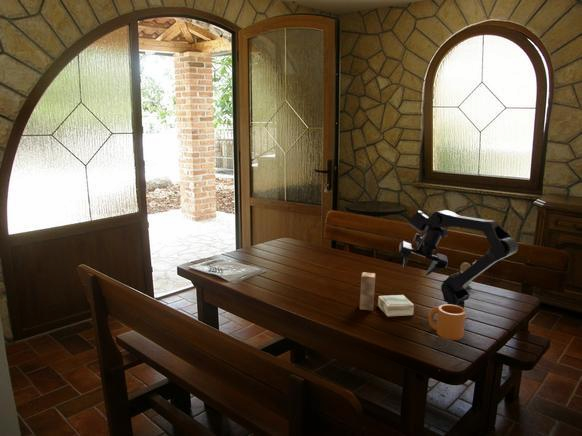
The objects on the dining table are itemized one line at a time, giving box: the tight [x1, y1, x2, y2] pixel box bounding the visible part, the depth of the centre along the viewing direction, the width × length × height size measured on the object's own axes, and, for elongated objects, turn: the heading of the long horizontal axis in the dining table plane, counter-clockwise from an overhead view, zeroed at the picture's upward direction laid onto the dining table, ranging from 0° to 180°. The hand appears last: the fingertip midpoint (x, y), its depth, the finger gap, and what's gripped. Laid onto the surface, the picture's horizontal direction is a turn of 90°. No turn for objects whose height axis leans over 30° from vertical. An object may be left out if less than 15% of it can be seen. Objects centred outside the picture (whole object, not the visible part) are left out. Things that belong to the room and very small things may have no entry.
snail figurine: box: [459, 259, 477, 286], centre depth 207 cm, size 5×6×12 cm
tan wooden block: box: [359, 271, 376, 312], centre depth 180 cm, size 5×5×13 cm
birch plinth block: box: [377, 294, 415, 317], centre depth 179 cm, size 10×10×4 cm
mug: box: [427, 303, 467, 341], centre depth 161 cm, size 9×12×9 cm
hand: (414, 271), depth 187 cm, fingers open, 9 cm apart
